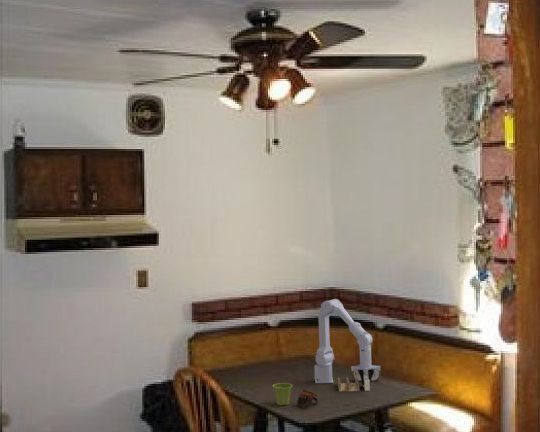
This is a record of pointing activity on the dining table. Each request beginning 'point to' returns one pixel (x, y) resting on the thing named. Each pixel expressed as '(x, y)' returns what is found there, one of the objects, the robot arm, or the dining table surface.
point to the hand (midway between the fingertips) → (366, 384)
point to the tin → (374, 377)
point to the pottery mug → (306, 401)
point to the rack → (348, 385)
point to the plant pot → (282, 393)
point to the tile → (366, 383)
